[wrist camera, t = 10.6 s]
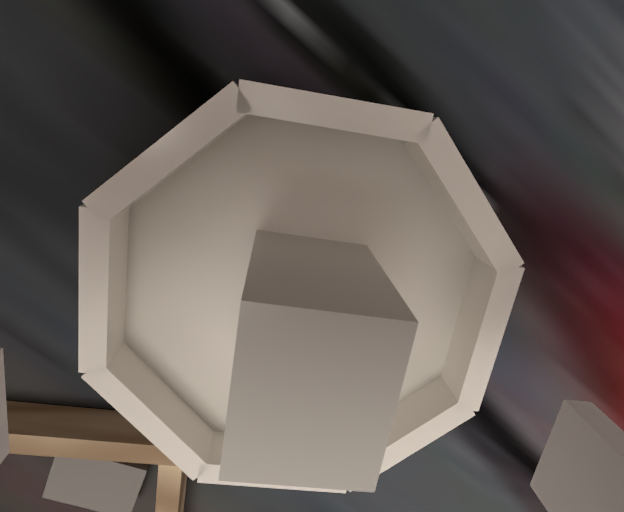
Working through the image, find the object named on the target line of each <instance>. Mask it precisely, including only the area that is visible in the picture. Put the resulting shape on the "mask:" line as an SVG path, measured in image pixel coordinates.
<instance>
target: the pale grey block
mask: <svg viewBox="0 0 624 512" xmlns="http://www.w3.org/2000/svg"><path fill="white" fill-rule="evenodd" d="M418 323H419V322H418V321H417V319H416V318H415V316H414V315H413V313H412V312H411V310H410V309H409V307H408V306H407V304H406V303H405V301H404V300H403V298H402V297H401V295H400V294H399V292H398V291H397V289H396V288H395V286H394V285H393V283H392V282H391V280H390V279H389V277H388V276H387V274H386V273H385V271H384V270H383V268H382V267H381V265H380V264H379V263H378V261H377V260H376V258H375V257H374V255H373V254H372V252H371V251H370V249H369V248H368V246H367V245H362V244H355V243H348V242H341V241H333V240H326V239H319V238H312V237H305V236H298V235H291V234H284V233H277V232H270V231H263V230H256V235H255V239H254V244H253V248H252V253H251V257H250V262H249V266H248V271H247V275H246V280H245V284H244V289H243V293H242V298H241V303H240V311H239V319H238V327H237V335H236V343H235V351H234V359H233V367H232V375H231V383H230V391H229V399H228V407H227V415H226V423H225V431H224V439H223V447H222V455H221V463H220V471H219V479H218V481H229V482H243V483H256V484H269V485H282V486H296V487H309V488H322V489H336V490H349V491H362V492H375V489H376V485H377V481H378V477H379V473H380V469H381V466H382V462H383V458H384V454H385V450H386V446H387V442H388V439H389V435H390V431H391V427H392V423H393V419H394V416H395V412H396V408H397V404H398V400H399V396H400V392H401V389H402V385H403V381H404V377H405V373H406V369H407V366H408V362H409V358H410V354H411V350H412V346H413V342H414V339H415V335H416V331H417V327H418Z"/></svg>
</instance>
